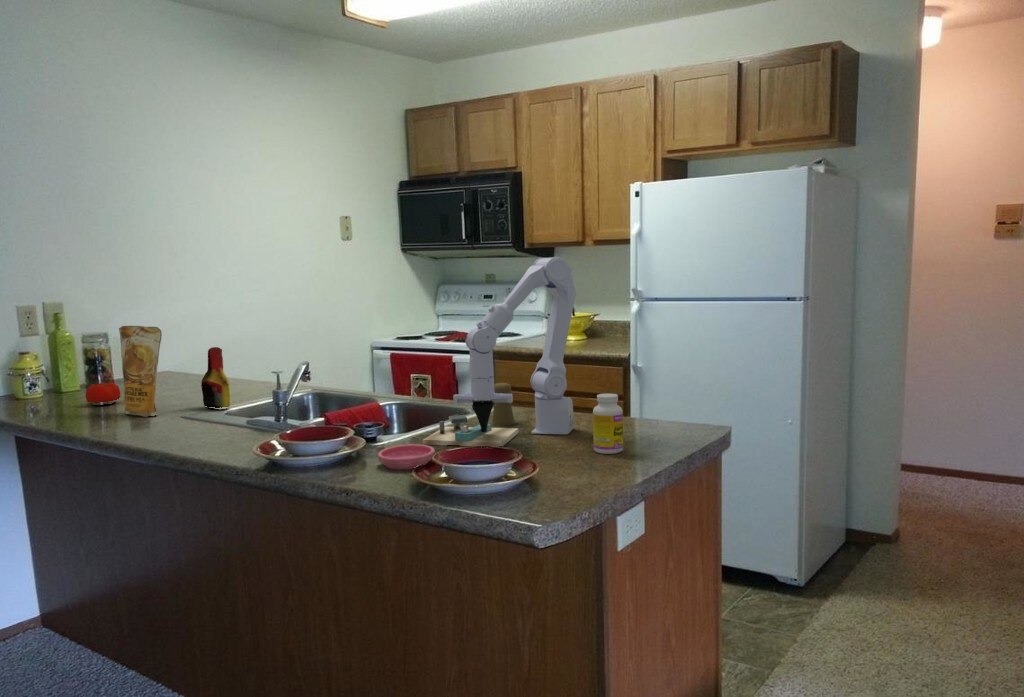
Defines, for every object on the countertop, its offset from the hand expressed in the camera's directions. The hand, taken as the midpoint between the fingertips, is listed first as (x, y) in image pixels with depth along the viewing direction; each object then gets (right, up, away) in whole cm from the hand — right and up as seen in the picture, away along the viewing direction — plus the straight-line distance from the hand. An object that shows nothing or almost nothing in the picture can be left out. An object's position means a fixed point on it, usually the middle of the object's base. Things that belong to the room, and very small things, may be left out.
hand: (484, 431), depth 188 cm
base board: (-3, -2, +2) cm, 4 cm away
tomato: (-133, +1, +74) cm, 153 cm away
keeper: (-8, -2, +7) cm, 11 cm away
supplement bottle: (+29, -3, -16) cm, 33 cm away
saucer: (-16, -5, -20) cm, 26 cm away
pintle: (-4, -1, -4) cm, 6 cm away
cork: (+4, 0, +19) cm, 19 cm away
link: (-2, -1, 0) cm, 3 cm away
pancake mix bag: (-110, -1, +53) cm, 121 cm away
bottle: (-88, +1, +57) cm, 105 cm away
